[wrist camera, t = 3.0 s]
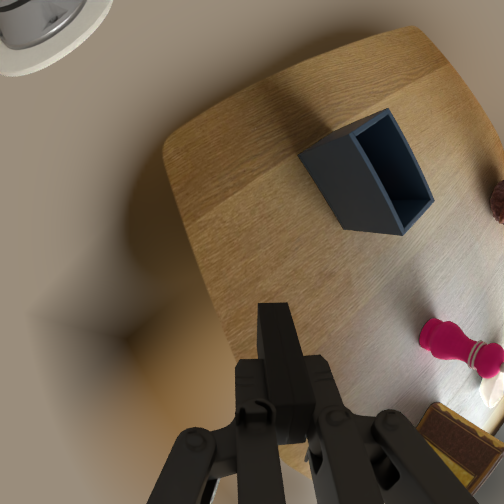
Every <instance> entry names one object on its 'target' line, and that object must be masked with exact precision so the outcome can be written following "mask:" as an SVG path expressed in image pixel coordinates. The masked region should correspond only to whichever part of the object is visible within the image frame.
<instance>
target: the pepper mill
mask: <svg viewBox="0 0 504 504" xmlns="http://www.w3.org/2000/svg"><path fill="white" fill-rule="evenodd" d="M419 342H420V346H421V347H422V348H424V349H426V350H428V351H431V353H432V355H433V356H434V357H436V358H438V359H443V360H451V359H457V360H462V361H464V362H466V363H467V364H468V367H469V368H472V369H473V370H476V369H477V373H478V374H479V376H481V377H482V378H486V379H489V378H492V377H494V376H496V375H497V374H498V373H499V372H500V371H501V372H502V373H504V349H503V348H502V347H501V346H500V345H499V344H497V343H490V344H488V345H487V343H486V342H483V341H482V340H480V341H478V342H477V341H473V340H471V339H469V338H468V337H467V336H466V335H465V334H464V333H463V331H462V330H461V329H460V327H459V326H458V325H456V324H455V323H453V322H451V321H446V322H442V321H441V320H439V319H436V318H432V319H430V320H429V321H428V322H427V323H426V324H425V325H424V327H423V329H422V331H421V333H420V338H419Z"/></svg>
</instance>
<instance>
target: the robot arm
mask: <svg viewBox="0 0 504 504" xmlns="http://www.w3.org/2000/svg"><path fill="white" fill-rule="evenodd" d="M86 1H87V0H0V39H1V41H2V42H3V43H4V44H5V45H6V46H7V47H8V48H10V49H13V50H23V49H27V48H31V47H34V46H36V45H39V44H41V43H43V42H45V41H47V40H48V39H50V38H52V37H53V36H55V35H56V34H58V33H59V32H60V31H62V30H63V29H64V28H65V27H66V26H68V25H69V24H70V23H71V22H72V21H73V20H74V19H75V18H76V17H77V15H78V14H79V13H80V12H81V10H82V9H83V7H84V5H85V4H86ZM257 352H258V359H240V360H239V362H238V363H237V365H236V367H235V396H236V412H235V418H234V420H233V421H232V422H231V424H229V425H228V426H226V427H224V428H221V429H219V430H214V431H208V430H206V429H204V428H198V427H193V428H188V429H186V430H184V431H182V432H181V433H180V434H179V436H178V437H177V439H176V441H175V443H174V445H173V447H172V450H171V452H170V454H169V456H168V458H167V461H166V463H165V465H164V467H163V469H162V471H161V474H160V476H159V478H158V480H157V482H156V484H155V487H154V489H153V491H152V493H151V495H150V497H149V499H148V502H147V504H212V502H213V499H214V496H215V493H216V490H217V487H218V484H219V481H220V478H222V477H225V476H229V475H232V474H236V473H237V481H238V482H237V483H238V504H286V501H285V495H284V487H283V480H282V473H281V466H280V458H279V451H278V445H285V444H296V443H305V441H306V438H308V443H309V447H308V450H307V453H306V456H305V462H307V461H308V459H309V464H310V469H311V474H312V479H313V484H314V489H315V494H316V499H317V504H384V503H385V504H479V503H478V502H477V501H476V500H475V498H474V497H473V496H472V495H471V494H470V492H469V491H468V490H467V489H466V488H465V486H464V485H463V484H462V483H461V482H460V480H459V479H458V478H457V477H456V476H455V474H454V473H453V472H452V471H451V470H450V468H449V467H448V466H447V465H446V464H445V463H444V461H443V460H442V459H441V458H440V457H439V455H438V454H437V453H436V452H435V451H434V450H433V448H432V447H431V446H430V445H429V444H428V442H427V441H426V440H425V439H424V438H423V437H422V435H421V434H420V433H419V432H418V431H417V429H416V428H415V427H414V426H413V425H412V424H411V422H410V421H409V420H408V419H407V418H406V417H405V415H403V414H402V413H401V412H399V411H397V410H392V409H387V410H383V411H381V412H380V413H379V414H377V416H376V417H370V416H360V415H356V414H354V413H352V412H351V410H349V409H348V408H346V407H345V406H344V404H343V402H342V399H341V397H340V394H339V391H338V388H337V386H336V383H335V380H334V379H333V375H332V372H331V369H330V367H329V364H328V362H327V361H326V360H325V359H324V358H323V357H322V356H321V355H309V356H303V353H302V350H301V346H300V343H299V340H298V336H297V333H296V329H295V326H294V323H293V319H292V316H291V312H290V309H289V306H288V302H286V303H258V319H257Z"/></svg>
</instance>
